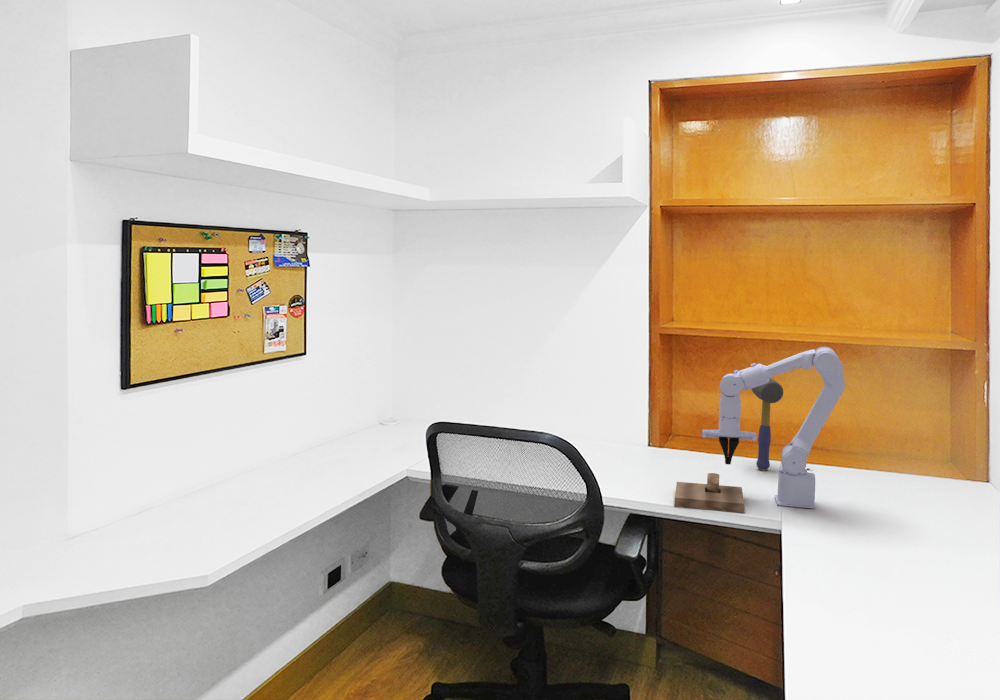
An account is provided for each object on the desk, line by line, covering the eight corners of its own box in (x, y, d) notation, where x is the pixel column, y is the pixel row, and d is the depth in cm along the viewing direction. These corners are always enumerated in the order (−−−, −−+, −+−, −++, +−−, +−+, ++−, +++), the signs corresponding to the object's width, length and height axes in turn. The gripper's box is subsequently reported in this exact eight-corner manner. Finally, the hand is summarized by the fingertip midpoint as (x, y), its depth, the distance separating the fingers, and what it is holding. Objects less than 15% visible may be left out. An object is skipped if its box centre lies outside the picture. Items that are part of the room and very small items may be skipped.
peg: (718, 497, 203) (719, 473, 202) (718, 501, 200) (719, 476, 199) (706, 496, 204) (707, 472, 204) (706, 500, 201) (707, 475, 201)
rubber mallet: (780, 475, 225) (786, 381, 221) (756, 475, 226) (761, 380, 222) (768, 464, 237) (773, 374, 234) (745, 464, 238) (750, 374, 234)
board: (741, 495, 205) (741, 487, 205) (744, 512, 191) (744, 503, 191) (676, 489, 210) (676, 481, 210) (674, 506, 196) (674, 497, 196)
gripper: (755, 415, 205) (753, 461, 206) (702, 412, 209) (701, 458, 210) (757, 420, 198) (755, 468, 200) (703, 417, 202) (701, 464, 203)
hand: (727, 463), depth 204 cm, fingers closed
